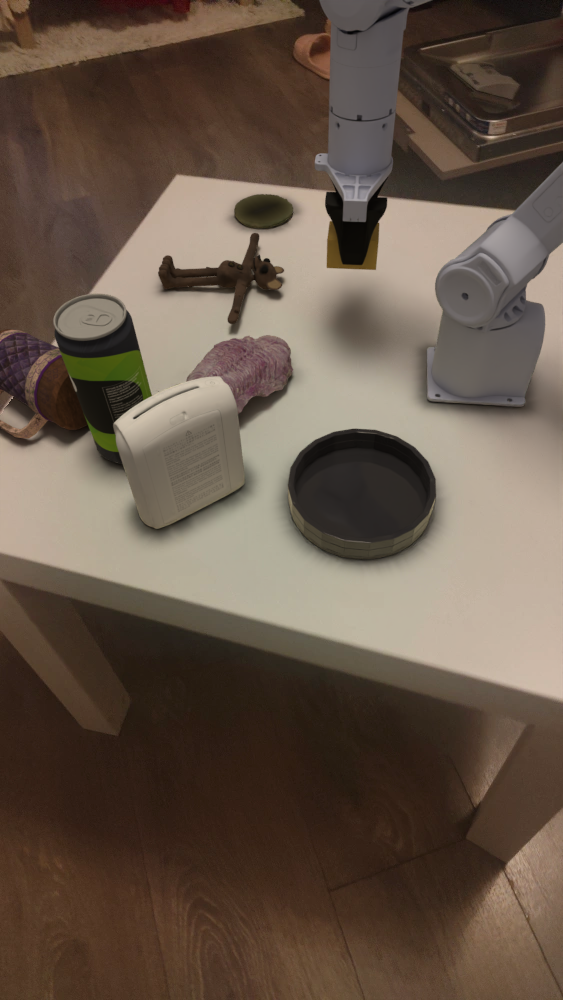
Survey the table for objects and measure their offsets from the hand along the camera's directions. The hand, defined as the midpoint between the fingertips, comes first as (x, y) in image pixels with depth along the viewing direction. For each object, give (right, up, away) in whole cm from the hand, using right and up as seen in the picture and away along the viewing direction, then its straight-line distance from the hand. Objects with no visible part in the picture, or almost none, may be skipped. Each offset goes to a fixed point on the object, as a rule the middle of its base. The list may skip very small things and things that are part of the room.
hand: (353, 251), depth 67 cm
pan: (0, -25, -8) cm, 27 cm away
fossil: (-12, -14, +1) cm, 18 cm away
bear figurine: (-14, 0, +12) cm, 19 cm away
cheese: (0, -1, +1) cm, 1 cm away
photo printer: (-15, -25, -7) cm, 30 cm away
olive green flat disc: (-10, +14, +22) cm, 27 cm away
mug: (-27, -17, -5) cm, 32 cm away
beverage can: (-22, -20, -3) cm, 30 cm away
